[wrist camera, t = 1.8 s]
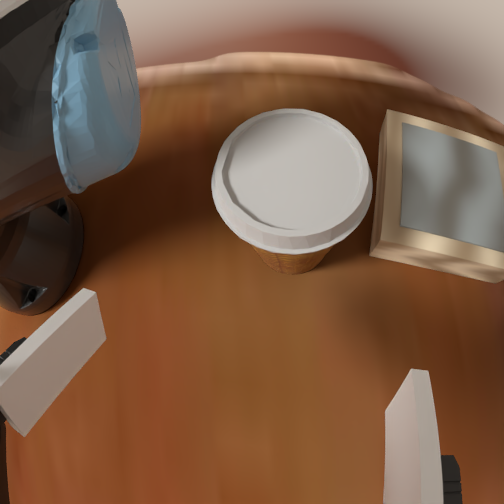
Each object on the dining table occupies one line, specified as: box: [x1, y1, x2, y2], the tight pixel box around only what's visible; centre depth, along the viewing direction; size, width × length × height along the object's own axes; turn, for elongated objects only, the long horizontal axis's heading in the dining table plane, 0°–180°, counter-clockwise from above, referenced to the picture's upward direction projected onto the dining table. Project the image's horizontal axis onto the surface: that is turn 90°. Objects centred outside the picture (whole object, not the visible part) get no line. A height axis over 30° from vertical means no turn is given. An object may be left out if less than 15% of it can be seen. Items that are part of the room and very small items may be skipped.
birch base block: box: [369, 109, 504, 284], centre depth 26 cm, size 14×14×4 cm
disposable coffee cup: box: [212, 109, 373, 275], centre depth 23 cm, size 10×10×12 cm
